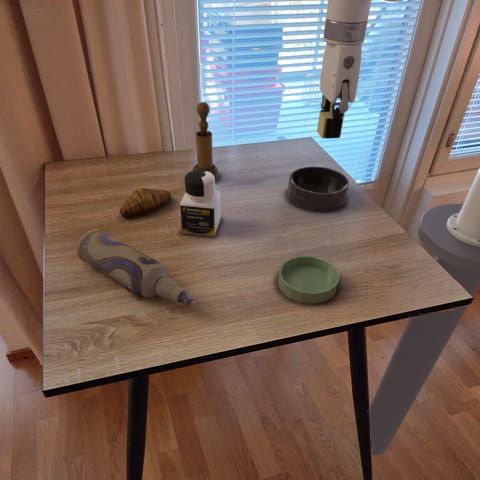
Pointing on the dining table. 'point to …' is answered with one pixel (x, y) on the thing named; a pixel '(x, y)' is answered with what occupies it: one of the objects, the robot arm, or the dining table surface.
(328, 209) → the bowl
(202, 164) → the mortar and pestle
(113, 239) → the decorative bottle
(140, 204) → the croissant
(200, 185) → the medicine bottle
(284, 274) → the dish
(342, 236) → the dining table surface
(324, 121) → the yellow cube
